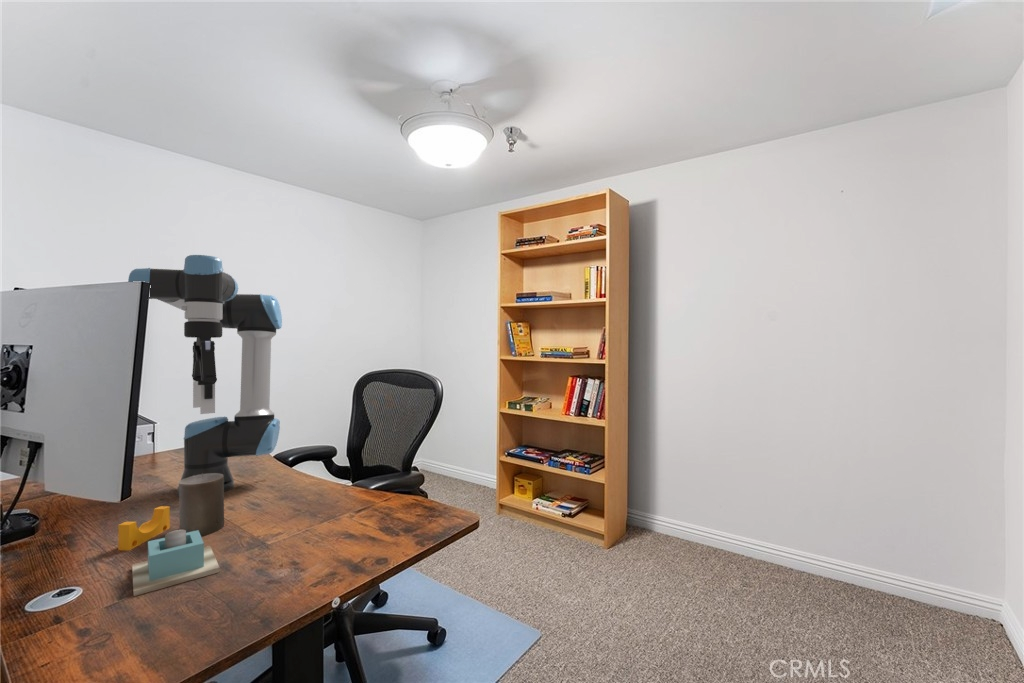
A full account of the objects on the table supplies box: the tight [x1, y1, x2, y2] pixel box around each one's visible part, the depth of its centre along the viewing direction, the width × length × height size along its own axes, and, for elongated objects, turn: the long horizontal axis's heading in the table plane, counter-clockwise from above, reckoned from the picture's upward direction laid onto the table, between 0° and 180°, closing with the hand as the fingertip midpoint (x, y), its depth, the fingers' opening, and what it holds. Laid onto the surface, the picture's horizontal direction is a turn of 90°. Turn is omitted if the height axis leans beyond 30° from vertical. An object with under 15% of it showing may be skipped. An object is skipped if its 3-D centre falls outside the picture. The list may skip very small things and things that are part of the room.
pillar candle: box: [178, 473, 225, 537], centre depth 117 cm, size 10×10×15 cm
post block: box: [131, 529, 221, 597], centre depth 96 cm, size 14×14×8 cm
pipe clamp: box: [117, 505, 171, 552], centre depth 111 cm, size 12×4×6 cm, turn 178°
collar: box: [147, 530, 205, 581], centre depth 97 cm, size 9×9×5 cm
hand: (203, 410), depth 107 cm, fingers open, 13 cm apart
